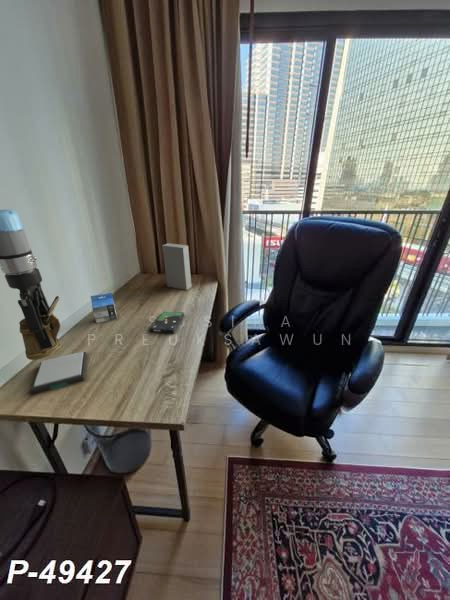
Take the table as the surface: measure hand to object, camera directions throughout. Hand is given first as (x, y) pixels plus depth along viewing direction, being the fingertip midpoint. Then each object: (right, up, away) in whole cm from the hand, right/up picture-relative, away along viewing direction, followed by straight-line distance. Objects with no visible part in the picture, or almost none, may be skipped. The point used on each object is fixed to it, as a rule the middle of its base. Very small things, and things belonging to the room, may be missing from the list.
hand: (49, 340), depth 78 cm
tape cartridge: (0, +3, +37) cm, 38 cm away
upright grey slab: (+28, +20, +70) cm, 78 cm away
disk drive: (+30, +1, +33) cm, 44 cm away
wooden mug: (0, -3, +1) cm, 3 cm away
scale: (0, -12, +6) cm, 14 cm away
